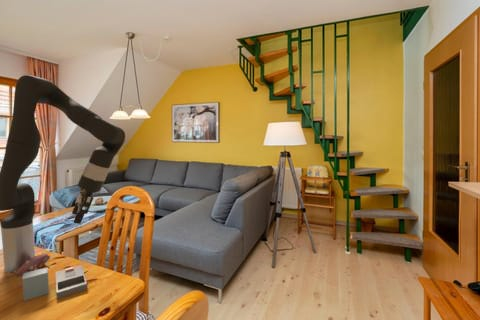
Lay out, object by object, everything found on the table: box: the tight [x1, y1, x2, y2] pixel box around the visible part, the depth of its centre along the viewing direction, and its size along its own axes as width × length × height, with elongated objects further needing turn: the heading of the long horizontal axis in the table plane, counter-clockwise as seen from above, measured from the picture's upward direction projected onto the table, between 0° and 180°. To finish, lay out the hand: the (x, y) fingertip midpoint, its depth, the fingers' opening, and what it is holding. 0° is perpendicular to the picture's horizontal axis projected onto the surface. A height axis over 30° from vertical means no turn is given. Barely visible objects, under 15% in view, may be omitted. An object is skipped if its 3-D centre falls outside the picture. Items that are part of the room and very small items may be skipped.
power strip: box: [55, 264, 88, 300], centre depth 83 cm, size 15×8×4 cm, turn 38°
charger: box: [21, 267, 50, 302], centre depth 77 cm, size 4×6×8 cm, turn 127°
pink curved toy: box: [15, 253, 51, 277], centre depth 94 cm, size 10×5×7 cm, turn 170°
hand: (75, 218), depth 87 cm, fingers open, 8 cm apart
